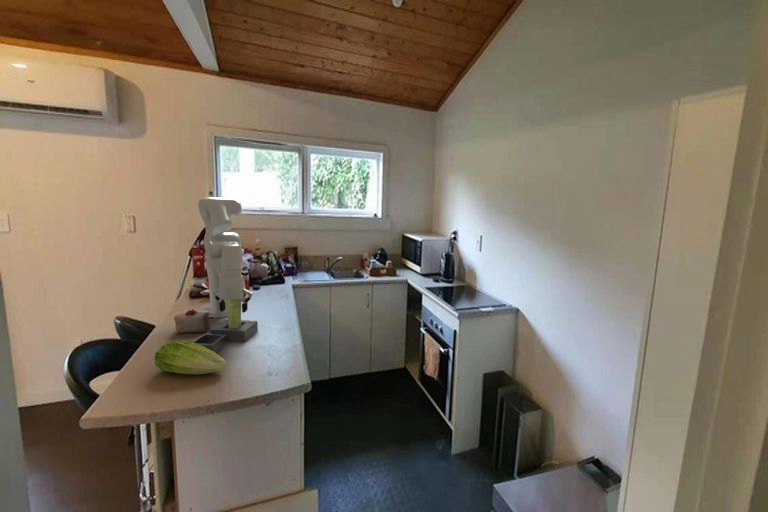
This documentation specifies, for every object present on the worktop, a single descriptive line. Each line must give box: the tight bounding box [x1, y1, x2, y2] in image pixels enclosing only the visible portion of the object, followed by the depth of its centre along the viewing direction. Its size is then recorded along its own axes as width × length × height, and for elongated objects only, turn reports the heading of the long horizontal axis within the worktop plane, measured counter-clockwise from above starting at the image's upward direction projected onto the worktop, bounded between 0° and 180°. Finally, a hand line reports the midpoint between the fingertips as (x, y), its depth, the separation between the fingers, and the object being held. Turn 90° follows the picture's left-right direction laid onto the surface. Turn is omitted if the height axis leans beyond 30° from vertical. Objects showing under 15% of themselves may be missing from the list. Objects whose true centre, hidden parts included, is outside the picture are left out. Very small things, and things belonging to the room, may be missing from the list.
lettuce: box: [154, 339, 227, 375], centre depth 123 cm, size 12×24×13 cm
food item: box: [173, 308, 210, 334], centre depth 160 cm, size 14×8×10 cm, turn 100°
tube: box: [226, 299, 242, 329], centre depth 155 cm, size 6×5×20 cm
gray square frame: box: [191, 333, 228, 354], centre depth 142 cm, size 10×11×4 cm
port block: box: [209, 319, 259, 344], centre depth 156 cm, size 15×13×5 cm
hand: (233, 311), depth 154 cm, fingers open, 9 cm apart
